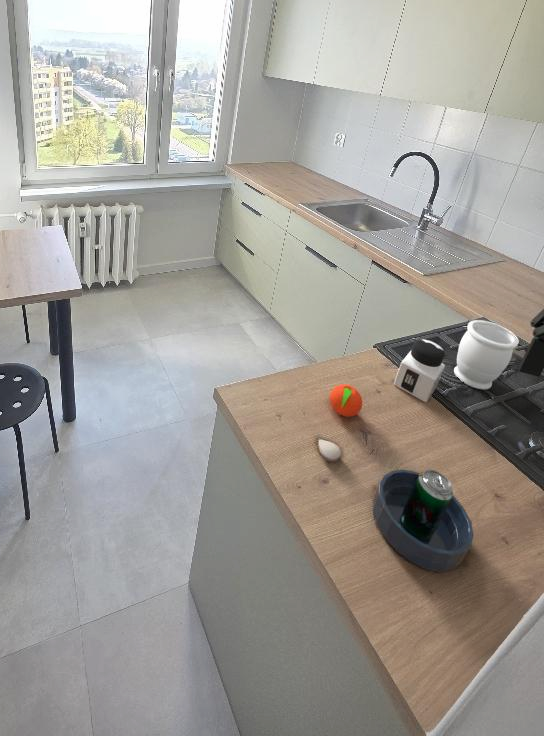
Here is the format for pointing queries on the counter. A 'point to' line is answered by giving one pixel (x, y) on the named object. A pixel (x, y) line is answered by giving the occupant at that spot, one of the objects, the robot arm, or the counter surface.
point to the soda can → (427, 504)
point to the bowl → (427, 553)
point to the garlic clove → (329, 450)
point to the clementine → (346, 400)
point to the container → (421, 369)
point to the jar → (484, 353)
